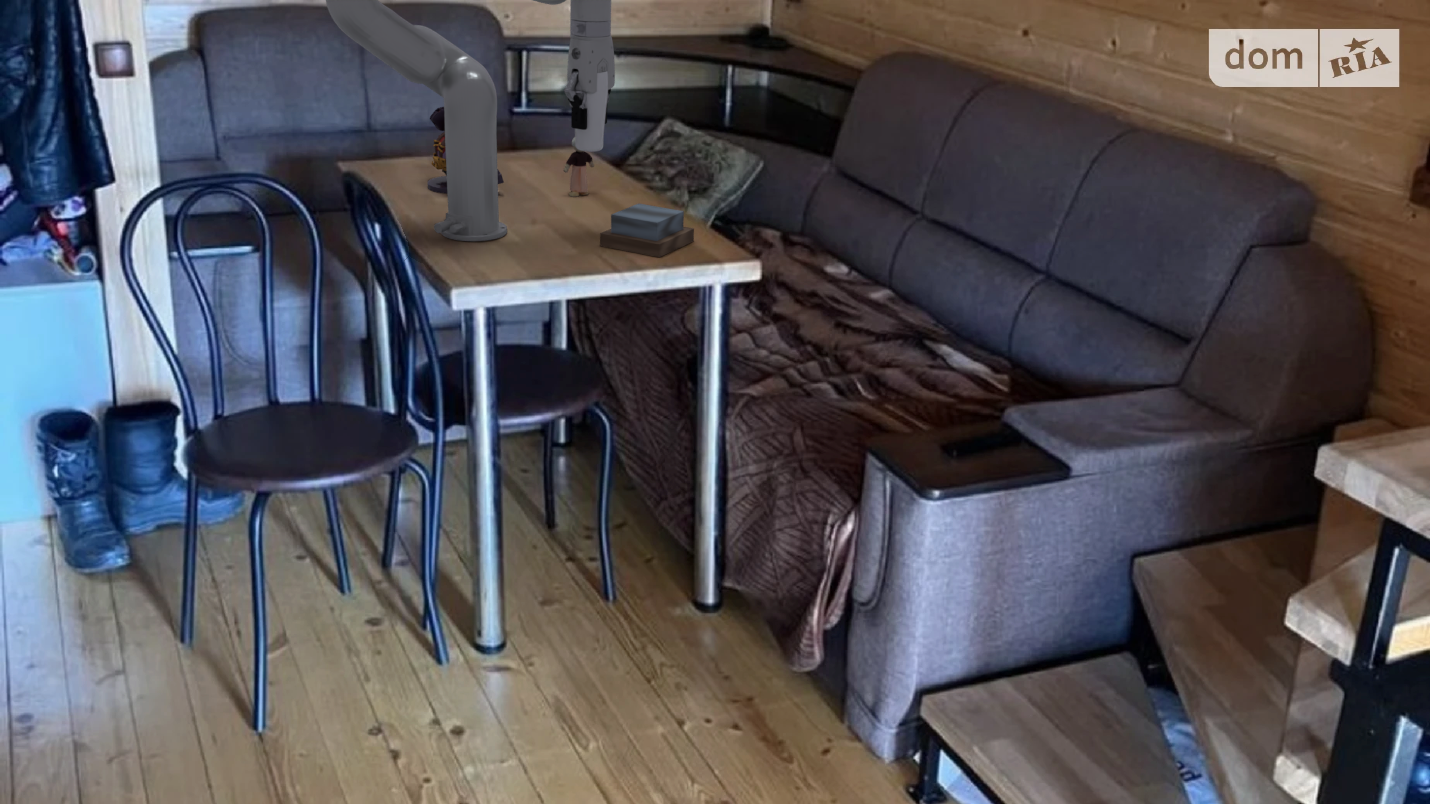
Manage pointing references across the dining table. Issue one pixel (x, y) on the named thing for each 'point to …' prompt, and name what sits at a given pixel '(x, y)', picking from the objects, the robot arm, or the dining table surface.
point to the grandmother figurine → (578, 171)
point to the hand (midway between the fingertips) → (589, 124)
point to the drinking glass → (594, 117)
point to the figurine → (442, 154)
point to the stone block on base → (647, 230)
